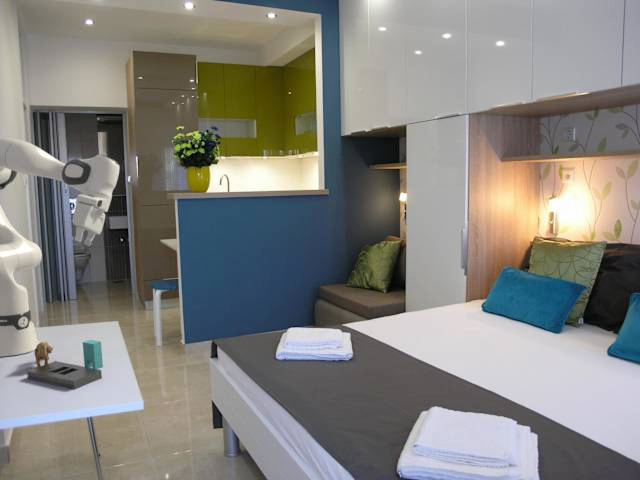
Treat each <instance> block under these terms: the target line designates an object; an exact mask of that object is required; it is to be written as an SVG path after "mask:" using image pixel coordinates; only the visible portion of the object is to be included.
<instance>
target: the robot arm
mask: <svg viewBox="0 0 640 480" xmlns="http://www.w3.org/2000/svg"><path fill="white" fill-rule="evenodd" d="M17 173H20V174H23V175H24V174H25V175H30V176H36V177H41V178H47V179H51V180H56V181H59V182H62V183H65V184H66V185H67V186H68V187H70V188H72V189H75V190H76V191H79V192H80V194H77V197H76V202H77V203H76V204H75V209H74V212H73V216H72V224H73V225H74V226H76V229H75V238H74V241H75V242H78V243H81V242H82V241H83V238H84V237H83V235H84V232H85V231H87V236H86V238H85V239H84V243H83V244H84V245H86V246H87V247H88V246H91V244H92V241H93V240H94V238H95V236H96V235H101V233H102V231H103V228H104V224H105V220H106V214H105V213H107V212H108V211H109V208H110V205H111V201H112V198H113V191H114V189H115V188H116V186H117V182H118V179H119V176H120V175H119V174H120V164H119V163H118V161H116V160H115V159H114V158H111V157H109V156H107V155H104V154H97V155H96V156H93V157H90V158H83V159H77V158H75V159H74V158H73V159H71V160H68V161H67V162H66V163H64V162H62V161H60V160H59V159H57V158H56V157H54V156H52V155H51V154H49V153H48V152H47V151H45V150H43V149H42V148H41V147H38V146H37V145H35V144H33V143H31V142H28V141H26V140H23V139H19V138H14V137H8V136H0V191H1V190H4V189H5V188H6V187H7V185H10V184H11V183H12V182H13V181H14V180H15V179H16V177H17ZM42 259H43V254H42V250H41V248H40V246H39V245H38V244H37V243H35V242H33V241H30V240H28V239H27V238H25V237H24V236H23V235H22V234H21V233H19V232H18V231H17V230H16V229H15V228H14V226H13V225H12V224H11V222H10V221H9V219H8V217H7V215H6V213H5V211H4V209H3V207H2V205H1V204H0V357H1V358H2V357H10V356H17V355H23V354H27V353H30V352H32V351H35V349H36V347H37V346H38V344H39V343H41V342H40V340H38V339H37V334H36V328H35V327H36V326H35V324H34V323H33V322H32V321H31V320H32V312H31V309H30V305H29V293H28V289H27V288H26V287H25V286H24V285H22V284H19V283H17V280H15V278H14V274H17V273H21V272H27V271H29V270H31V269H34V268H36V267H38V266H39V265H40V264H41V262H42Z"/></svg>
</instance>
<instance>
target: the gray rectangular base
mask: <svg viewBox="0 0 640 480" xmlns="http://www.w3.org/2000/svg"><path fill="white" fill-rule="evenodd" d="M36 367H37V366H36ZM36 367H35V368H32V369H29V370H27V379H29V380H31V379H32V381H36V382H41V383H45V384H50V385H54V386H57V387H58V386H59V387H62V388H67V389H71V390H76V389H78V388H81V387H83V386H86V385H89V384H91V383H93V382H95V381H98V380H100V379H102V378H103V376H102V369H93V367H89V368H88V367H85V366H82V365H77V364H73V363H67V362H63V361H57V360H54V361H51V362H49V363H48V364H46V365H44V364H43V365H41V366H40V367H37V368H36Z"/></svg>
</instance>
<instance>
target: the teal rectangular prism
mask: <svg viewBox="0 0 640 480" xmlns="http://www.w3.org/2000/svg"><path fill="white" fill-rule="evenodd" d="M82 350H83V353H82V354H83V363H84V366H83V367H88V368H93V369H98V370H100V369H101V368H103V367H104V366H103V364H104V363H103V362H104V361H103V353H102V352H103V351H102V341H100V340H93V339H88V340H85V341H83V342H82Z"/></svg>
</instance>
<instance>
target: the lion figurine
mask: <svg viewBox="0 0 640 480" xmlns="http://www.w3.org/2000/svg"><path fill="white" fill-rule="evenodd" d="M53 350H54V347H52V346H51V345H50V344H48V341H41V342H40V343H39V344H38V345H37V347H36V349H35V350H34V357H35V364H36V365H37V366H36V367H35V368H37V367H40V366H42V365H41V361H44V364H43V365H46V364H49V363H48V362H49V360H50V356H49V354H52V353H53V352H52V351H53Z"/></svg>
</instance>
